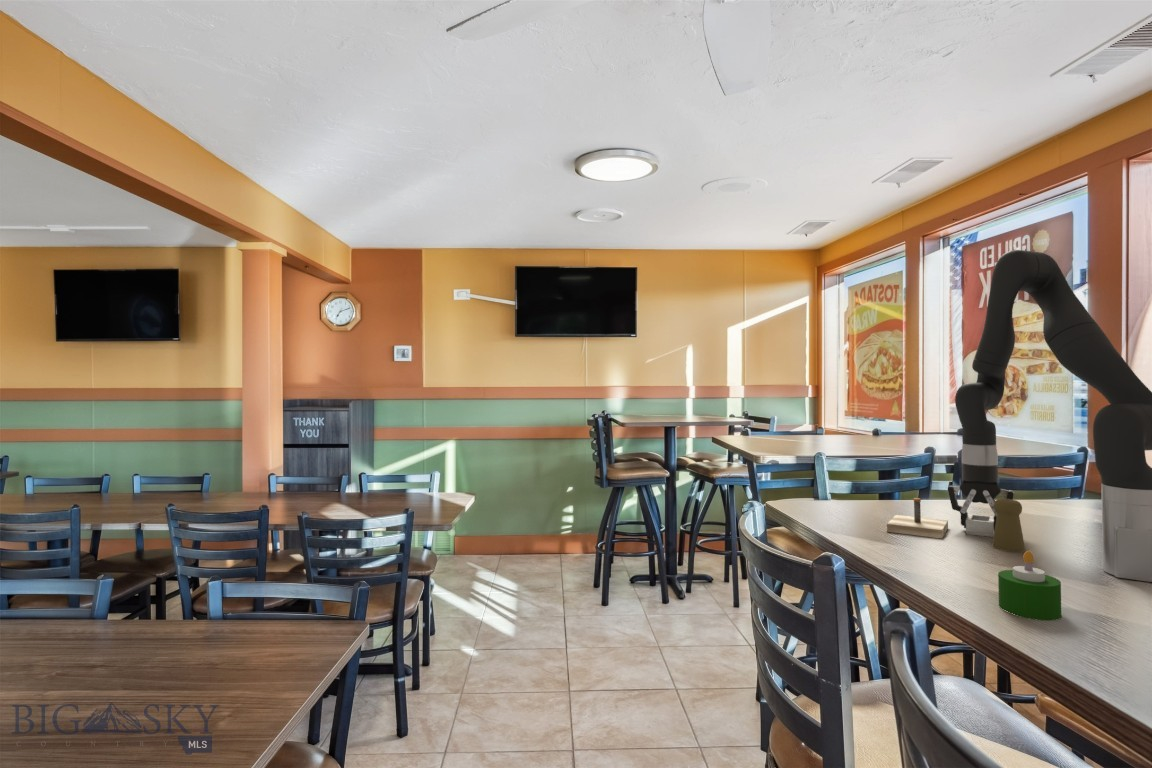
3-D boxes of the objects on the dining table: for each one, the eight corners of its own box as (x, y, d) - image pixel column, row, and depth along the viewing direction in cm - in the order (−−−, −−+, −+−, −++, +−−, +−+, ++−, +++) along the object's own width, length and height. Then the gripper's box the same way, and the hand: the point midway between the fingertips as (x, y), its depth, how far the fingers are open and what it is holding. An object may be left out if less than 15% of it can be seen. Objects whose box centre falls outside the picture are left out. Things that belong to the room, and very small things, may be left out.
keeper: (942, 538, 142) (941, 505, 142) (887, 531, 150) (886, 500, 150) (947, 528, 152) (947, 497, 152) (895, 522, 159) (895, 492, 159)
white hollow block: (993, 537, 143) (993, 522, 143) (966, 533, 146) (965, 519, 146) (995, 530, 149) (995, 516, 149) (968, 527, 152) (968, 513, 152)
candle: (994, 611, 98) (992, 551, 98) (1004, 597, 104) (1003, 541, 104) (1057, 625, 92) (1056, 561, 92) (1064, 610, 98) (1063, 550, 98)
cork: (1014, 544, 136) (1013, 496, 136) (1031, 551, 130) (1030, 502, 130) (986, 544, 137) (985, 496, 137) (1002, 551, 131) (1001, 502, 131)
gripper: (944, 462, 149) (945, 528, 149) (1014, 466, 140) (1016, 536, 140) (947, 458, 155) (948, 522, 155) (1015, 462, 146) (1017, 530, 146)
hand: (980, 529), depth 148 cm, fingers closed on white hollow block, 5 cm apart
